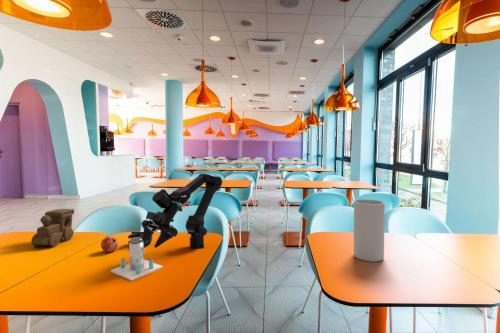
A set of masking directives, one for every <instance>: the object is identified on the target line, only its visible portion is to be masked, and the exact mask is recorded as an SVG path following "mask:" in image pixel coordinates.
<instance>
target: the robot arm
mask: <svg viewBox="0 0 500 333" xmlns="http://www.w3.org/2000/svg"><path fill="white" fill-rule="evenodd" d="M204 184H205V185H204ZM203 185H204V187H205V190H204V192H203V195H202V197H201V199H200V201H199V203H198V206H197V208H196V210H195V212H194V214H192V215H189V216H188V217H187V220H186V222H185V229H186V231H187V234H188V235H190V237H189V247H190V249H204V248H205V244H204V243H205V238H204V237H205V236H206V235H207V233H208V229H207V228H206V227H205V219H204V218H205V215H206V213H207V211H208V209H209V206H210V205H211V201H212V200H213V198H214V195H215V194H216V193H217V192H218V191H219V190H220V188H221V187H222V185H223V180H222V177H221V176H219V175H218V176H217V175H211V174H209V173H199V174H198V176H197V177H195V178H194V179H192V180H191V181H190V182H189V183H187V184H186V185H185V186H183V187H179V188H177V189H175V190H173V191H172V192H171V193H168V192H167V190H166V189H165V188H164V189H163V188H161V189H160V190H158V191H157V192H156V193H154V194H153V195H152V198H151V199H152V202H153V203H155V204H156V205H157V206H158V207H159V208H160V209H162V211H157V212H152V211H147V213H146V216H145V219H143V221H141V223H140V225H141V227H142V228H143V231H142V232H143V236H142V239H143V241H144V242H146V241H147V240H148V239H149V238H150V237H151V236H152V237H153V235H154V234H155V232H156V231H160V232H159V236H158V238H157V239H156V242H155V244H154V246H153V247H154V248H155V249H157V248H158V247H160V246H161V245H163V244H164V243H166V242H167V241H169V240H170V239H173V238H176V237H177V235H178V232H179V231H178V229H177V228H175V226H174V225H172V224H171V223H174V222H175V220H174V218H175V216H176V215H177V213H178V212H181V213H182V212H183V208H182V205H183V204H186V203H187V202H188V201H189V199H190V198H191V197H192V196H191V195H192V194H193V193H194V192H196V190H198V189H199V188H200V187H202V186H203ZM179 204H182V205H179Z"/></svg>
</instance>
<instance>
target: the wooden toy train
mask: <svg viewBox="0 0 500 333" xmlns="http://www.w3.org/2000/svg"><path fill="white" fill-rule="evenodd" d="M74 214H75V209H73V208H57V209H53V210H49V211H48V210H47V211H46V212H44V215H42V216H41V218H40V219H39V220H40V222H41V224H42V225H43V226H39V227H37V228H36V233H35V234H34V235H33V236H32V237H31V240H30V241H31V246H32V247H34V248H37V247H40V246H48V245H49V247H52V248H55V247H57V246H58V245H59V244H60V241H61V240H62V239H63V240H64V241H67V242H68V241H70V240H72V238H73V236H74V229H73V228H72V227H73V226H72V225H73V215H74Z"/></svg>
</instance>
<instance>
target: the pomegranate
mask: <svg viewBox="0 0 500 333" xmlns="http://www.w3.org/2000/svg"><path fill="white" fill-rule="evenodd" d="M118 247H119V242H118V240H117V239H116V238H115V237H110V236H108V237H105V238H103V239H102V240H101V243H100V248H101V249H102V251H103V252H105V253H112V252H114V251H116V250H117V249H118Z"/></svg>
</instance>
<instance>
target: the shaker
mask: <svg viewBox="0 0 500 333" xmlns="http://www.w3.org/2000/svg"><path fill="white" fill-rule="evenodd" d="M129 241H130V243H129V244H128V248H129V263H130V270H136V264H140V269H143V268H144V260H145V248H144V241H143V239H142V237H134V238H130V239H129Z"/></svg>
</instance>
